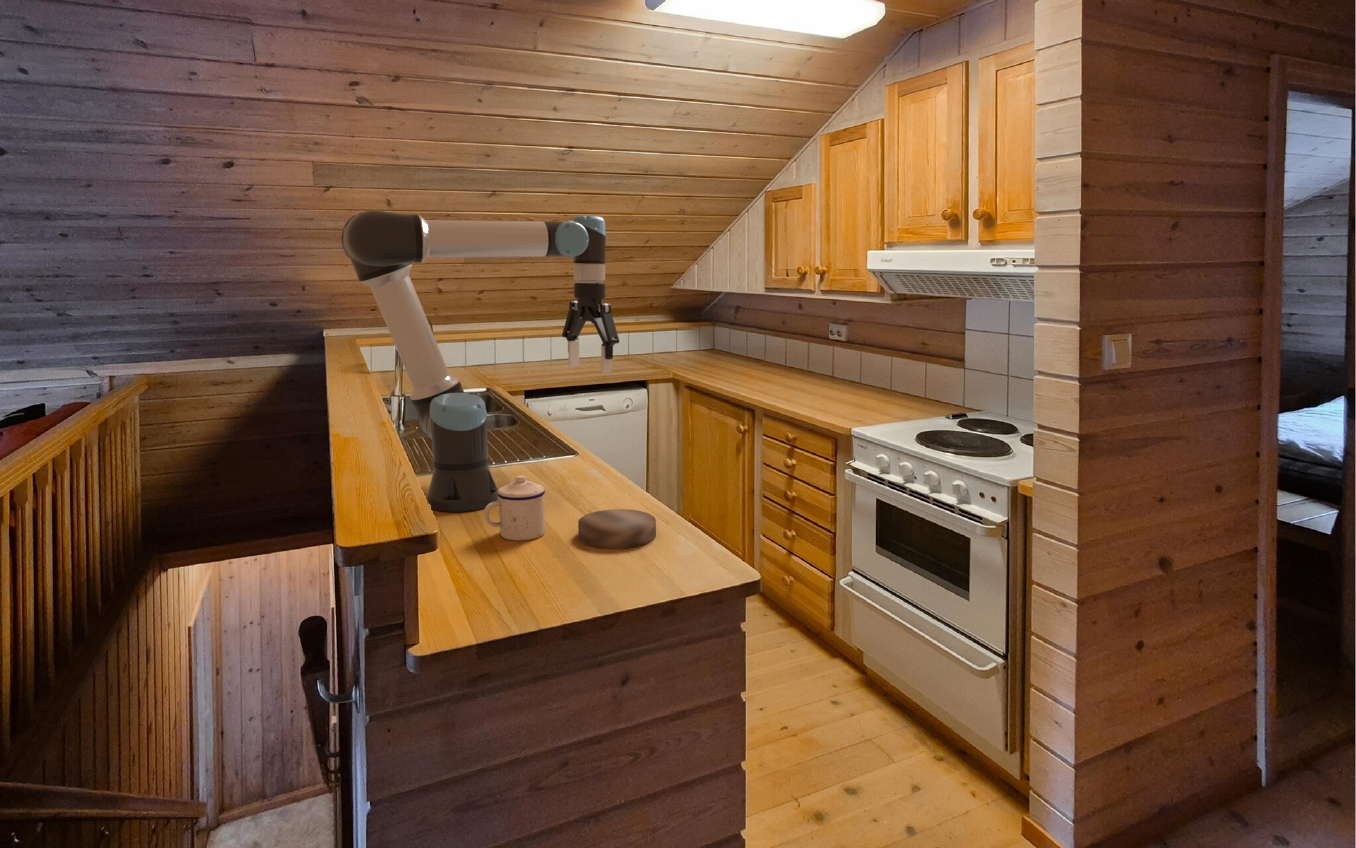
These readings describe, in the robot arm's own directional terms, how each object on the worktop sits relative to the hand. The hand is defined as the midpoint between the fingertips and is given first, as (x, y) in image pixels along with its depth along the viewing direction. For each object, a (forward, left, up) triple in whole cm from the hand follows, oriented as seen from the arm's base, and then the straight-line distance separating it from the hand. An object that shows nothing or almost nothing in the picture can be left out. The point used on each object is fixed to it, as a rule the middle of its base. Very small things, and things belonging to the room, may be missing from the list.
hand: (589, 369), depth 209 cm
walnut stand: (-24, -45, -26) cm, 57 cm away
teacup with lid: (-39, -32, -26) cm, 56 cm away
